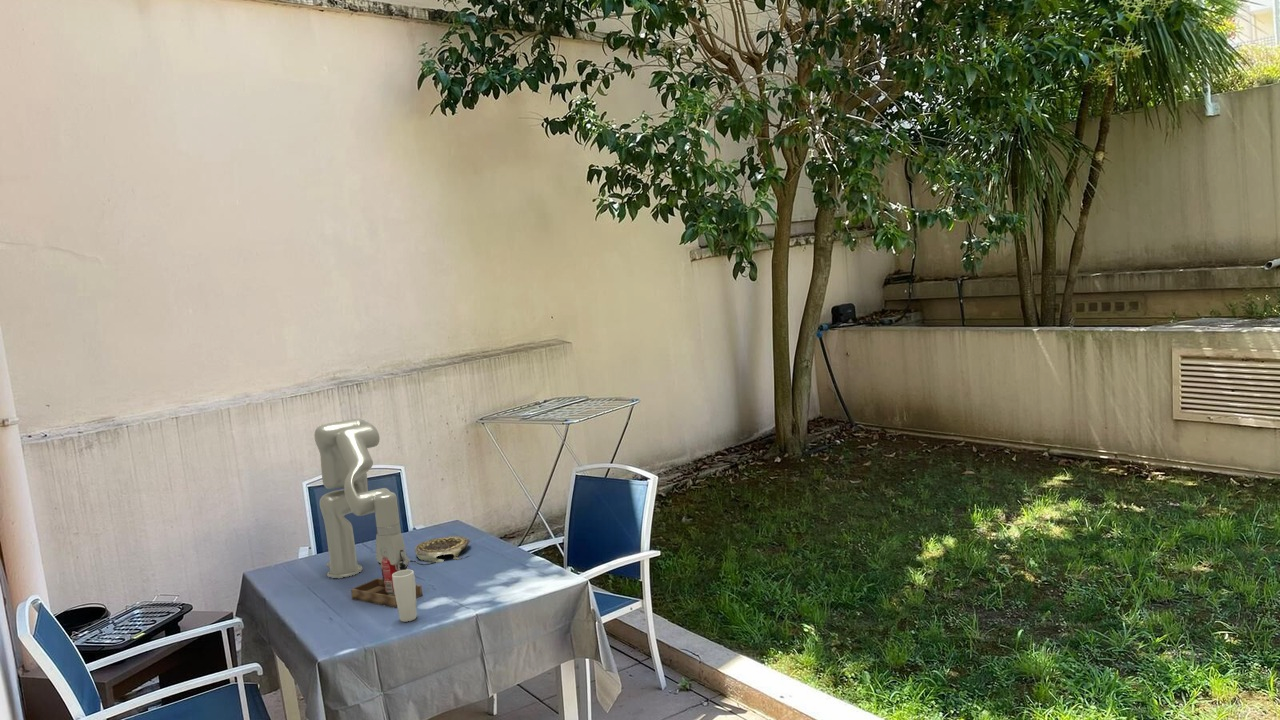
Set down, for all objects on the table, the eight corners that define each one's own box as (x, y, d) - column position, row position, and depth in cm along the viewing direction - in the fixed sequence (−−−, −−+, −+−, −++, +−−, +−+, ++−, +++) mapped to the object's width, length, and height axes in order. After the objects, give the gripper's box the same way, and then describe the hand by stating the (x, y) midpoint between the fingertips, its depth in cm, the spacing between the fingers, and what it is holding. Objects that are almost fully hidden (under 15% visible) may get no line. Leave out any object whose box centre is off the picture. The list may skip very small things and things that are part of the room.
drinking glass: (399, 616, 273) (394, 570, 272) (421, 613, 273) (415, 568, 272) (395, 624, 266) (389, 577, 265) (417, 622, 267) (411, 575, 265)
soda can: (401, 595, 285) (396, 557, 284) (381, 595, 286) (376, 557, 285) (411, 587, 292) (406, 550, 290) (391, 587, 293) (387, 550, 292)
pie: (395, 557, 339) (394, 545, 339) (456, 540, 357) (454, 528, 357) (430, 570, 318) (429, 557, 318) (493, 551, 337) (491, 538, 336)
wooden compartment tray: (352, 599, 294) (350, 589, 293) (379, 587, 303) (378, 578, 303) (395, 607, 281) (394, 597, 281) (422, 595, 291) (421, 585, 290)
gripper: (362, 530, 289) (369, 581, 290) (397, 535, 279) (403, 587, 281) (380, 524, 295) (386, 574, 297) (415, 528, 285) (421, 580, 287)
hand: (395, 580), depth 289 cm, fingers closed on soda can, 7 cm apart
